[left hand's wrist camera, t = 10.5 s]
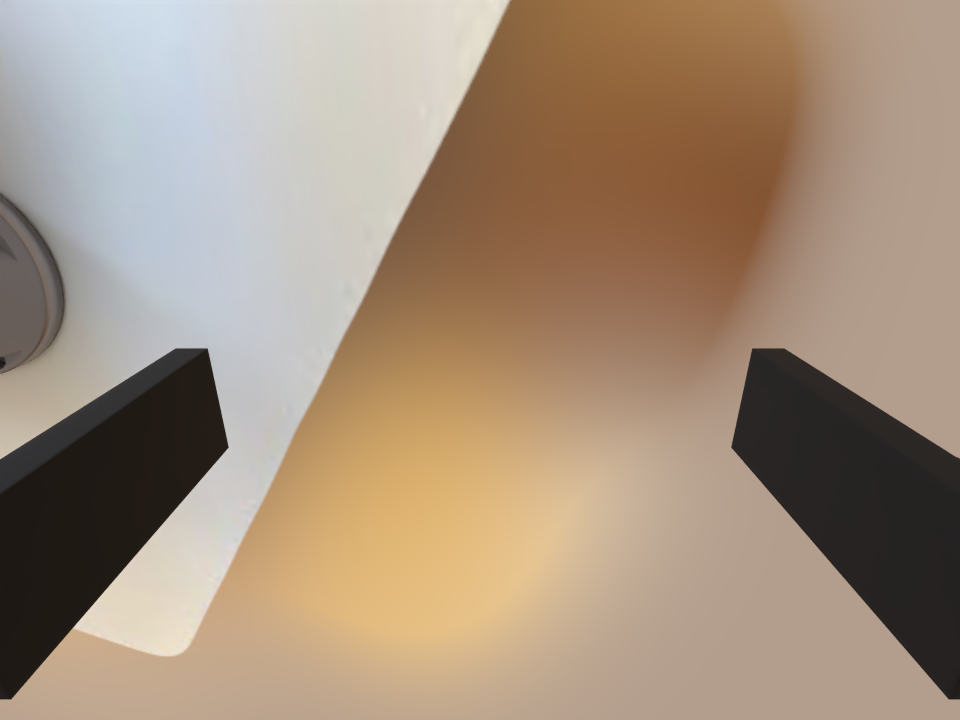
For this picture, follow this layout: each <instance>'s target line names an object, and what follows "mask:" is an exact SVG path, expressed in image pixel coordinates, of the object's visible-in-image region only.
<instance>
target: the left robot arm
mask: <svg viewBox="0 0 960 720" xmlns="http://www.w3.org/2000/svg"><path fill="white" fill-rule="evenodd" d="M62 312H63V295H62V287H61V282H60V278H59V275H58V271H57V269H56V266H55V263H54V261H53V259H52V257H51V254H50V252H49V250H48V249H47V247H46V245H45V244H44V242H43V240H42V239H41V237H40V236H39V234H38V233H37V231H36V230H35V229H34V228H33V226H32V225H31V224H30V223H29V221H28V220H27V219H26V218H25V217H24V216H23V215H22V214H21V213H20V212H19V211H18V210H17V209H16V208H15V207H14V206H13V205H12V204H11V203H10V202H9V201H7V200H6V199H5V198H4V197H3V196H1V195H0V374H1V373H4V372H7V371H9V370H12V369H14V368H16V367H18V366H21V365H23V364H25V363H27V362H29V361H31V360H33V359H34V358H36V357H37V356H39V355H40V354H41V353H42V352H43V351H44V350H45V349H46V348H47V347H48V346H49V345H50V343H51V342H52V341H53V339H54V337H55V336H56V333H57V331H58V329H59V326H60V322H61V318H62ZM228 448H229V447H228V442H227V437H226V433H225V428H224V423H223V419H222V414H221V409H220V404H219V400H218V395H217V390H216V386H215V381H214V376H213V372H212V367H211V362H210V357H209V353H208V349H174V350H173V351H171V352H170V353H168V354H166V355H165V356H163V357H162V358H160V359H158V360H157V361H155V362H154V363H152V364H151V365H149V366H147V367H146V368H144V369H143V370H141V371H139V372H138V373H136V374H135V375H133V376H132V377H130V378H128V379H127V380H125V381H124V382H122V383H120V384H119V385H117V386H116V387H114V388H113V389H111V390H109V391H108V392H106V393H105V394H103V395H101V396H100V397H98V398H97V399H95V400H94V401H92V402H90V403H89V404H87V405H86V406H84V407H82V408H81V409H79V410H78V411H76V412H75V413H73V414H71V415H70V416H68V417H67V418H65V419H63V420H62V421H60V422H59V423H57V424H56V425H54V426H52V427H51V428H49V429H48V430H46V431H45V432H43V433H41V434H40V435H38V436H37V437H35V438H33V439H32V440H30V441H29V442H27V443H26V444H24V445H22V446H21V447H19V448H18V449H16V450H14V451H13V452H11V453H10V454H8V455H7V456H5V457H3V458H2V459H0V699H12V698H13V697H14V695H15V694H16V693H17V692H18V691H19V690H20V688H21V687H22V686H23V685H24V684H25V683H26V682H27V680H28V679H29V678H30V677H31V676H32V675H33V673H34V672H35V671H36V670H37V669H38V668H39V666H40V665H41V664H42V663H43V662H44V661H45V660H46V658H47V657H48V656H49V655H50V654H51V653H52V651H53V650H54V649H55V648H56V647H57V646H58V644H59V643H60V642H61V641H62V640H63V639H64V637H65V636H66V635H67V634H68V633H69V632H70V631H71V629H72V628H73V627H74V626H75V625H76V624H77V622H78V621H79V620H80V619H81V618H82V617H83V616H84V614H85V613H86V612H87V611H88V610H89V609H90V607H91V606H92V605H93V604H94V603H95V602H96V600H97V599H98V598H99V597H100V596H101V595H102V594H103V592H104V591H105V590H106V589H107V588H108V587H109V585H110V584H111V583H112V582H113V581H114V580H115V578H116V577H117V576H118V575H119V574H120V573H121V572H122V570H123V569H124V568H125V567H126V566H127V565H128V563H129V562H130V561H131V560H132V559H133V558H134V556H135V555H136V554H137V553H138V552H139V551H140V550H141V548H142V547H143V546H144V545H145V544H146V543H147V541H148V540H149V539H150V538H151V537H152V536H153V534H154V533H155V532H156V531H157V530H158V529H159V528H160V526H161V525H162V524H163V523H164V522H165V521H166V519H167V518H168V517H169V516H170V515H171V514H172V512H173V511H174V510H175V509H176V508H177V507H178V505H179V504H180V503H181V502H182V501H183V500H184V499H185V497H186V496H187V495H188V494H189V493H190V492H191V490H192V489H193V488H194V487H195V486H196V485H197V483H198V482H199V481H200V480H201V479H202V478H203V477H204V475H205V474H206V473H207V472H208V471H209V470H210V468H211V467H212V466H213V465H214V464H215V463H216V461H217V460H218V459H219V458H220V457H221V456H222V455H223V453H224V452H225V451H226V450H227V449H228ZM732 449H733V450H734V451H735V452H736V453H737V455H738V456H739V457H740V458H741V459H742V460H743V461H744V463H745V464H746V465H747V466H748V467H749V468H750V470H751V471H752V472H753V473H754V474H755V475H756V477H757V478H758V479H759V480H760V481H761V482H762V483H763V485H764V486H765V487H766V488H767V489H768V490H769V492H770V493H771V494H772V495H773V496H774V497H775V499H776V500H777V501H778V502H779V503H780V504H781V506H782V507H783V508H784V509H785V510H786V511H787V512H788V514H789V515H790V516H791V517H792V518H793V519H794V521H795V522H796V523H797V524H798V525H799V526H800V527H801V529H802V530H803V531H804V532H805V533H806V534H807V536H808V537H809V538H810V539H811V540H812V541H813V543H814V544H815V545H816V546H817V547H818V548H819V550H820V551H821V552H822V553H823V554H824V555H825V556H826V558H827V559H828V560H829V561H830V562H831V563H832V565H833V566H834V567H835V568H836V569H837V570H838V572H839V573H840V574H841V575H842V576H843V577H844V578H845V580H846V581H847V582H848V583H849V584H850V585H851V587H852V588H853V589H854V590H855V591H856V592H857V594H858V595H859V596H860V597H861V598H862V599H863V600H864V602H865V603H866V604H867V605H868V606H869V607H870V609H871V610H872V611H873V612H874V613H875V614H876V616H877V617H878V618H879V619H880V620H881V621H882V622H883V624H884V625H885V626H886V627H887V628H888V629H889V631H890V632H891V633H892V634H893V635H894V636H895V637H896V639H897V640H898V641H899V642H900V643H901V644H902V646H903V647H904V648H905V649H906V650H907V651H908V653H909V654H910V655H911V656H912V657H913V658H914V659H915V661H916V662H917V663H918V664H919V665H920V666H921V668H922V669H923V670H924V671H925V672H926V673H927V675H928V676H929V677H930V678H931V679H932V680H933V682H934V683H935V684H936V685H937V686H938V687H939V688H940V690H941V691H942V692H943V693H944V694H945V695H946V697H947V698H948V699H960V458H957V457H955V456H953V455H952V454H950V453H949V452H947V451H946V450H944V449H942V448H941V447H939V446H938V445H936V444H934V443H933V442H931V441H930V440H928V439H926V438H925V437H923V436H922V435H920V434H919V433H917V432H915V431H914V430H912V429H911V428H909V427H908V426H906V425H904V424H903V423H901V422H900V421H898V420H897V419H895V418H893V417H892V416H890V415H889V414H887V413H885V412H884V411H882V410H881V409H879V408H878V407H876V406H874V405H873V404H871V403H870V402H868V401H866V400H865V399H863V398H862V397H860V396H859V395H857V394H855V393H854V392H852V391H851V390H849V389H847V388H846V387H844V386H843V385H841V384H839V383H838V382H836V381H835V380H833V379H832V378H830V377H828V376H827V375H825V374H824V373H822V372H821V371H819V370H817V369H816V368H814V367H813V366H811V365H809V364H808V363H806V362H805V361H803V360H802V359H800V358H798V357H797V356H795V355H794V354H792V353H790V352H789V351H787V350H786V349H752V353H751V358H750V362H749V367H748V372H747V376H746V381H745V386H744V390H743V395H742V400H741V405H740V409H739V414H738V419H737V423H736V428H735V433H734V437H733V442H732Z"/></svg>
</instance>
